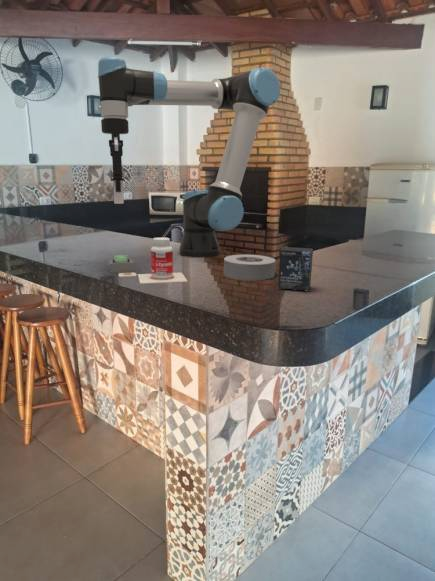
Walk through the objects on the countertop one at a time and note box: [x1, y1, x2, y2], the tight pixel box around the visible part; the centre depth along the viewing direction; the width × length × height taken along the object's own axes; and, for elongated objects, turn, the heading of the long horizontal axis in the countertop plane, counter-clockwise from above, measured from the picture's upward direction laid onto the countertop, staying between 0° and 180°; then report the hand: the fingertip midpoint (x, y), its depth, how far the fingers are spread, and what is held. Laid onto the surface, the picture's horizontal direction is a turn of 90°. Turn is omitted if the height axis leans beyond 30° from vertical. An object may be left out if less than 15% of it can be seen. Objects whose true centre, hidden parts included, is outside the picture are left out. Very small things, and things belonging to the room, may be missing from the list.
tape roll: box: [223, 254, 276, 282], centre depth 131 cm, size 15×15×5 cm
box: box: [277, 246, 314, 291], centre depth 115 cm, size 8×6×11 cm
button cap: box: [113, 254, 129, 263], centre depth 135 cm, size 4×4×4 cm
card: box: [118, 272, 137, 278], centre depth 130 cm, size 5×4×1 cm
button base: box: [108, 258, 135, 274], centre depth 135 cm, size 7×7×3 cm
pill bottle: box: [150, 237, 174, 279], centre depth 125 cm, size 6×6×11 cm
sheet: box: [137, 272, 188, 285], centre depth 126 cm, size 13×11×1 cm
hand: (118, 203), depth 131 cm, fingers closed
